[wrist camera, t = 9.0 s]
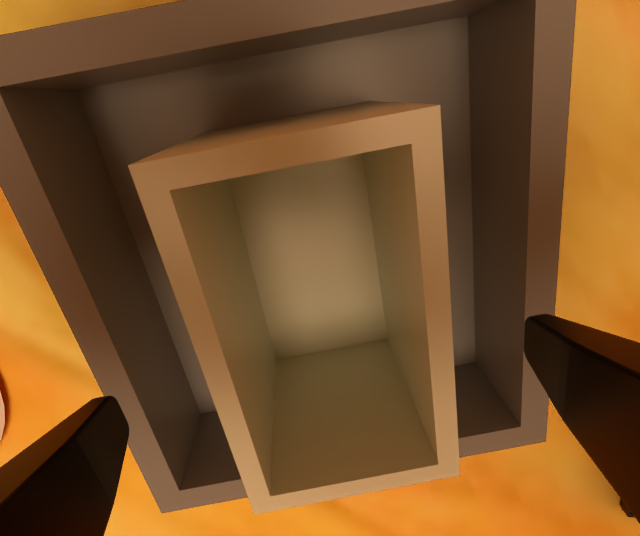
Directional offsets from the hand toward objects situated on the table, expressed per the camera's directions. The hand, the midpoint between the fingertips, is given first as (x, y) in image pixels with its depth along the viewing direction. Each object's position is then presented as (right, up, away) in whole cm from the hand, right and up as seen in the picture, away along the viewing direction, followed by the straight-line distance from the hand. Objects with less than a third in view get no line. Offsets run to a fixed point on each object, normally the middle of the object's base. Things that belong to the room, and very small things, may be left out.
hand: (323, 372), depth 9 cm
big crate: (-1, +3, +8) cm, 9 cm away
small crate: (0, +3, +7) cm, 8 cm away
